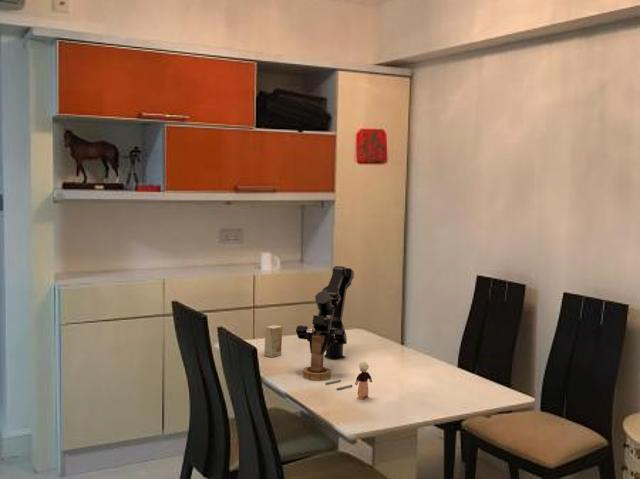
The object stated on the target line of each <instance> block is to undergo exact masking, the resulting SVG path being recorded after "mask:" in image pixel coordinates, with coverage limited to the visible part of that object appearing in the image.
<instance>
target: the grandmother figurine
mask: <svg viewBox="0 0 640 479" xmlns="http://www.w3.org/2000/svg"><path fill="white" fill-rule="evenodd" d="M358 367H359V371H360V372H361V373H358V374H357V377H356V378H355V382H354V385H355V386H357V385H358V388H357V398H356V399H358V400H361V401H365V400H366V399H370V397H369V382H370V384H371V383H373V379H372V376H371V375H370V373H369V372H368V369H369V368H370V367H369V364H368V363H367V362H366V361H361V362H359V365H358ZM368 380H369V381H368Z"/></svg>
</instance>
